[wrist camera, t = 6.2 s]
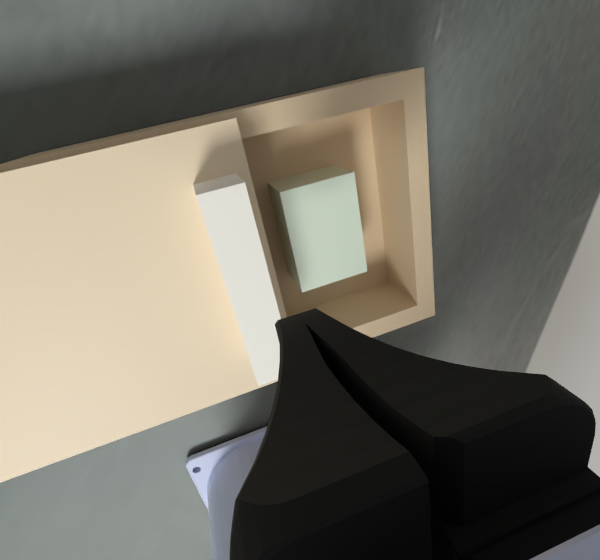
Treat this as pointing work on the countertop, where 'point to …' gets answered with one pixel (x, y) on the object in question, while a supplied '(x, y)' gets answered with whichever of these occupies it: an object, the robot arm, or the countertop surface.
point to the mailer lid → (130, 292)
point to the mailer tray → (369, 182)
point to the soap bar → (319, 226)
